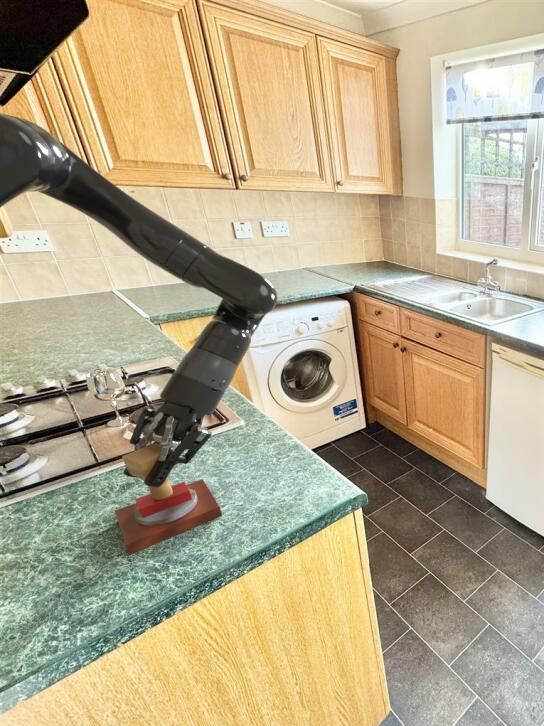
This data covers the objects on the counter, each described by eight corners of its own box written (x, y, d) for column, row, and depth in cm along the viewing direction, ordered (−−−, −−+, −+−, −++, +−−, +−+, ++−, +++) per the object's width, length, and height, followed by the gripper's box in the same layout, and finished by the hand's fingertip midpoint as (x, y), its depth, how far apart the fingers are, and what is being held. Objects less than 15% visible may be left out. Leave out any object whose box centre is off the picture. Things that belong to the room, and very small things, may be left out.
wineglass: (126, 427, 92) (107, 378, 87) (96, 428, 91) (75, 378, 86) (142, 414, 97) (125, 367, 92) (114, 415, 96) (95, 367, 91)
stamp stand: (129, 554, 62) (125, 545, 61) (118, 519, 68) (114, 510, 67) (222, 515, 70) (219, 506, 69) (205, 487, 76) (202, 478, 75)
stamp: (141, 534, 63) (116, 475, 59) (131, 507, 68) (108, 451, 64) (203, 508, 69) (185, 454, 64) (190, 486, 74) (173, 433, 69)
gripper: (151, 362, 68) (85, 463, 63) (210, 381, 63) (145, 491, 58) (193, 380, 75) (137, 472, 70) (250, 398, 70) (194, 498, 65)
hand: (141, 480), depth 64 cm, fingers closed on stamp, 4 cm apart
